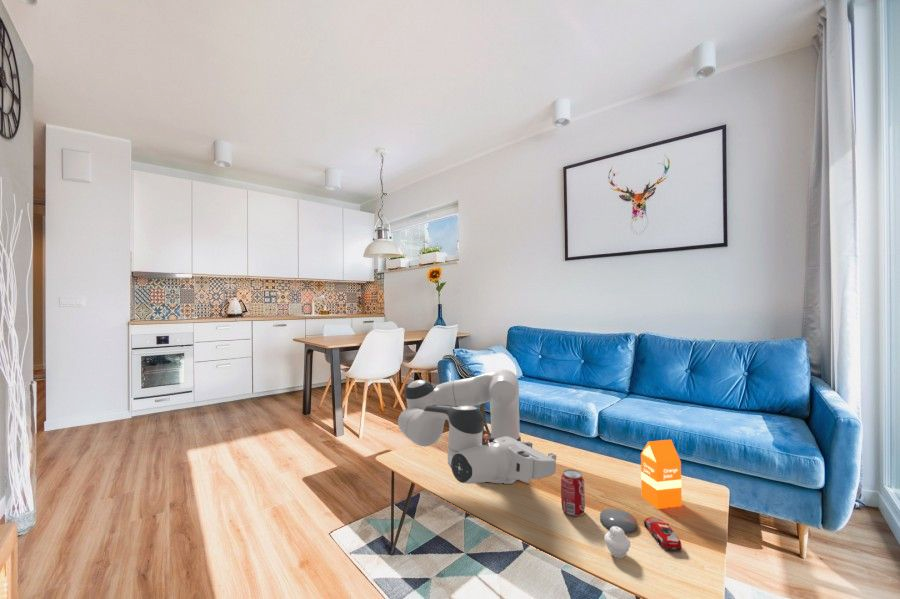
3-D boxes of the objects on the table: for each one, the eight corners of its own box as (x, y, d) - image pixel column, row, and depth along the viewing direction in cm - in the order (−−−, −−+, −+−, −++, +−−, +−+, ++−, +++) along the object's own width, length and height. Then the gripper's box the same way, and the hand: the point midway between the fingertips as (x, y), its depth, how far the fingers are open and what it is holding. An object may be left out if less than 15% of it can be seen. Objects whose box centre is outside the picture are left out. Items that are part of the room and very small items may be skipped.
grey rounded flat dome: (609, 534, 105) (609, 529, 105) (594, 514, 115) (594, 509, 115) (644, 533, 105) (644, 527, 105) (626, 513, 115) (625, 508, 115)
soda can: (581, 505, 120) (581, 468, 120) (587, 518, 113) (586, 478, 113) (559, 505, 120) (558, 468, 120) (563, 517, 113) (563, 478, 113)
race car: (641, 523, 110) (641, 510, 110) (660, 524, 110) (660, 510, 110) (663, 553, 97) (662, 537, 97) (684, 554, 96) (684, 538, 97)
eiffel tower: (466, 442, 176) (466, 389, 176) (482, 436, 183) (481, 386, 183) (482, 448, 168) (481, 393, 168) (498, 442, 175) (497, 390, 175)
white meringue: (605, 559, 95) (604, 531, 95) (604, 544, 100) (603, 518, 101) (632, 564, 92) (631, 536, 93) (629, 549, 98) (628, 523, 98)
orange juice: (682, 506, 118) (680, 443, 119) (657, 509, 117) (656, 446, 117) (664, 494, 126) (663, 435, 126) (641, 496, 125) (639, 437, 125)
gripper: (483, 455, 111) (517, 448, 118) (531, 486, 94) (568, 475, 101) (484, 434, 111) (518, 428, 118) (533, 461, 94) (570, 452, 101)
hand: (542, 450), depth 110 cm, fingers open, 8 cm apart
